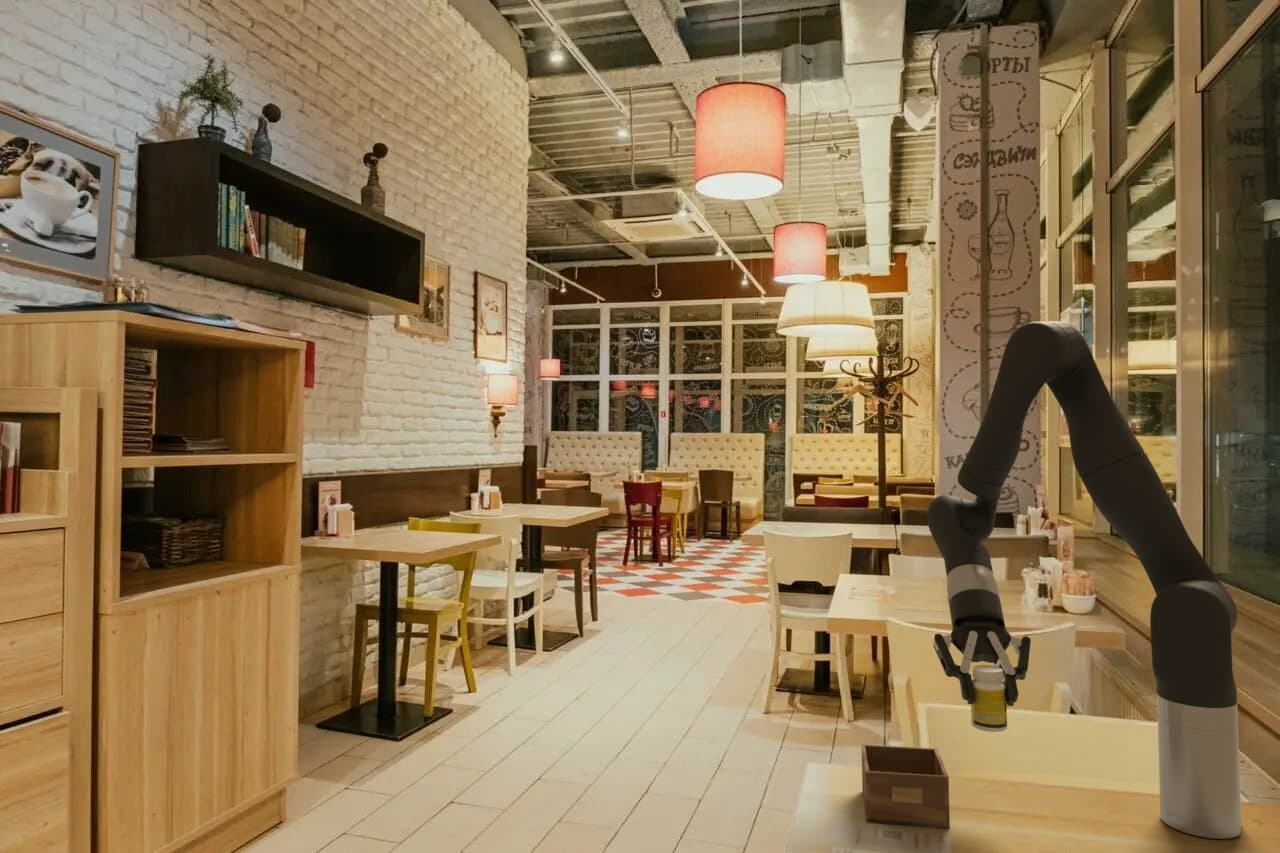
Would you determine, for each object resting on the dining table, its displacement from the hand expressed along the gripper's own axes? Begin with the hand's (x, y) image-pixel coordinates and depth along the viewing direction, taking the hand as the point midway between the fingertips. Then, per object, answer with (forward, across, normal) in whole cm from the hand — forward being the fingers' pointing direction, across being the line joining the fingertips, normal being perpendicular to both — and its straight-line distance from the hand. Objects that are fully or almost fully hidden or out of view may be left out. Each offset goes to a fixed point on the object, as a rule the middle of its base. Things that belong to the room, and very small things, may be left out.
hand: (991, 702), depth 120 cm
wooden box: (+11, -12, +11) cm, 20 cm away
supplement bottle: (+2, 0, +4) cm, 5 cm away
